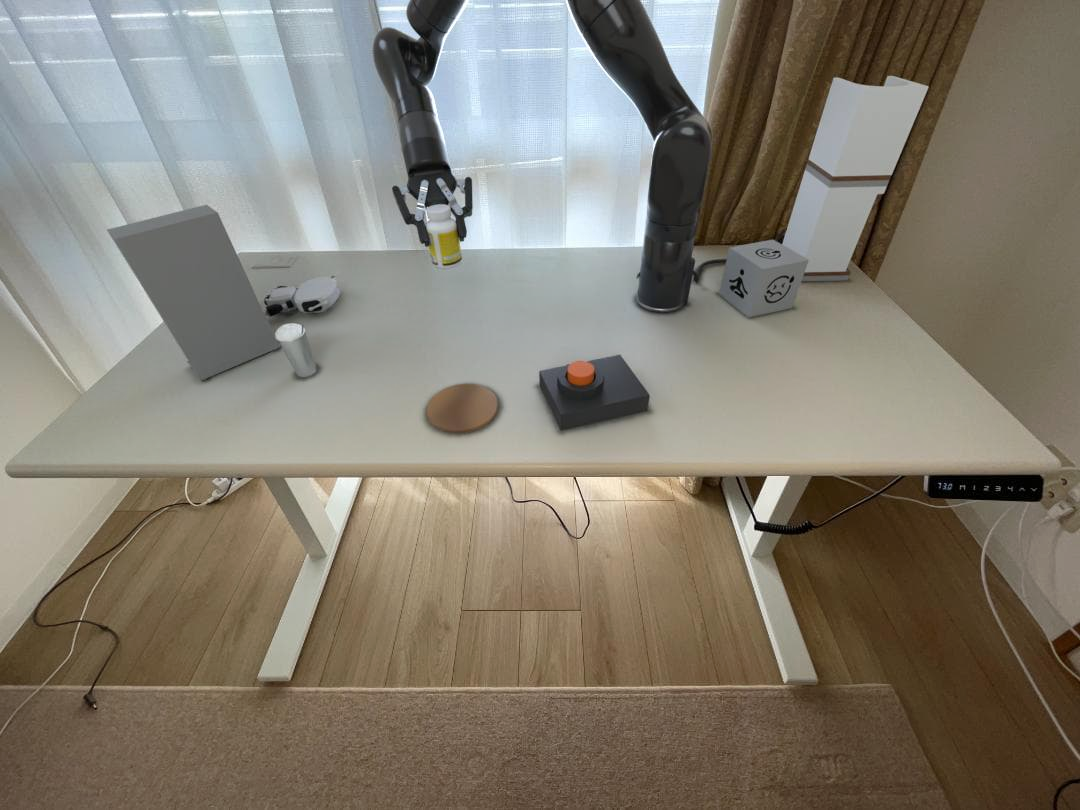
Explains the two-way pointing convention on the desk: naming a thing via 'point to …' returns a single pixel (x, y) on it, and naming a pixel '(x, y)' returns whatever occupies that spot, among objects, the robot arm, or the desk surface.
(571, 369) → the orange button
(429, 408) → the coaster
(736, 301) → the icon cube
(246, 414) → the desk surface
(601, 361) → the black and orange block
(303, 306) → the robot toy
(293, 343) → the milkshake
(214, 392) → the desk surface
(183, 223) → the tall grey upright panel
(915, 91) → the white striped pillar
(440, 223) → the supplement bottle
